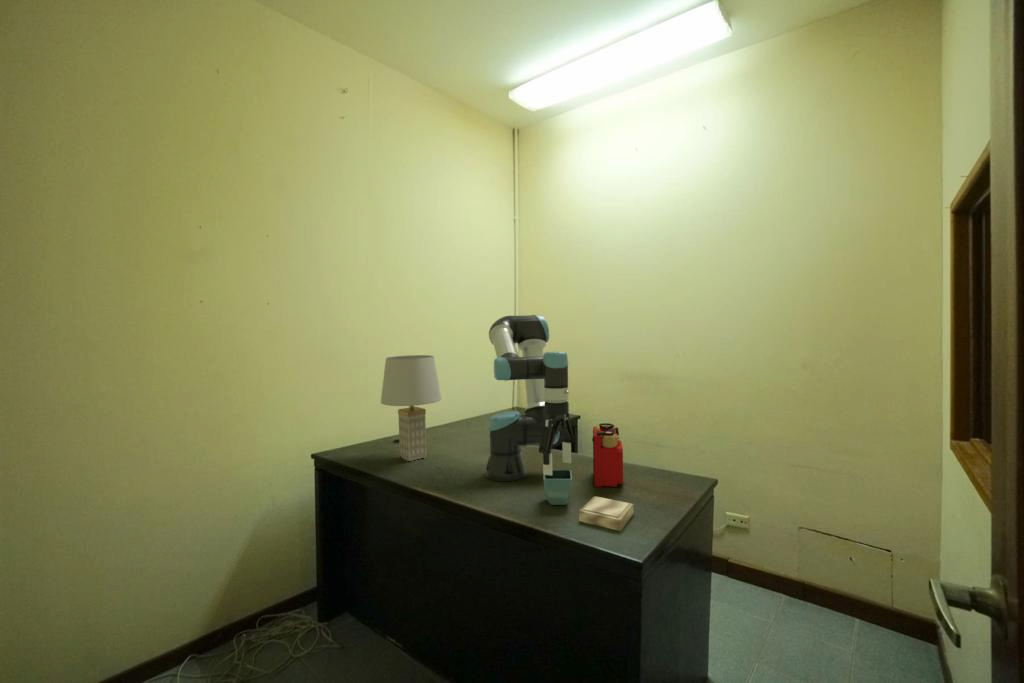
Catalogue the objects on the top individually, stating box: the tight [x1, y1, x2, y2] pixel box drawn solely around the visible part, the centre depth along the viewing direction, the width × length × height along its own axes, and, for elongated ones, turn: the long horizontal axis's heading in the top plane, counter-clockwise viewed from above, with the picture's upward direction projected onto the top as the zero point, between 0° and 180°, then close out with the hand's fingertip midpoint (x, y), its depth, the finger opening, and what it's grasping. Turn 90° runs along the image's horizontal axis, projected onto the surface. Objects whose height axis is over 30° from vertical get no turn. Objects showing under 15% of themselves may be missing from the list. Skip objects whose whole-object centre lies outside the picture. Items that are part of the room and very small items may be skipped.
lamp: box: [380, 354, 442, 460], centre depth 183 cm, size 25×25×44 cm
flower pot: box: [542, 469, 573, 506], centre depth 135 cm, size 9×9×9 cm
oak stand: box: [578, 495, 635, 532], centre depth 124 cm, size 12×12×3 cm
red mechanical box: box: [591, 422, 624, 488], centre depth 153 cm, size 16×10×20 cm, turn 168°
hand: (557, 468), depth 135 cm, fingers open, 13 cm apart
